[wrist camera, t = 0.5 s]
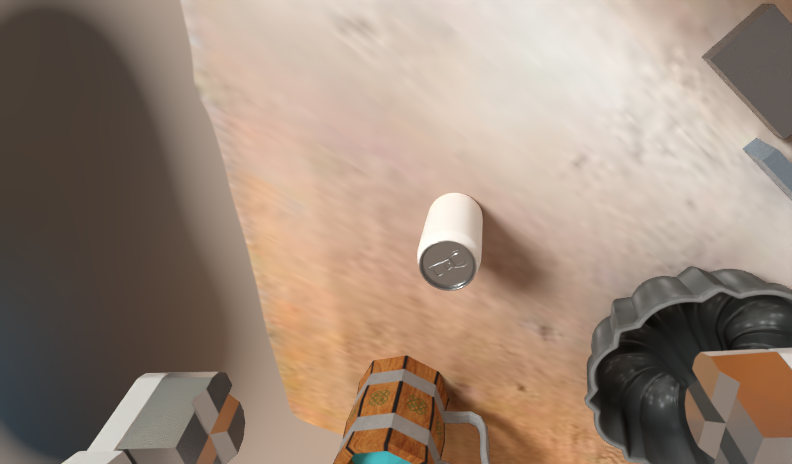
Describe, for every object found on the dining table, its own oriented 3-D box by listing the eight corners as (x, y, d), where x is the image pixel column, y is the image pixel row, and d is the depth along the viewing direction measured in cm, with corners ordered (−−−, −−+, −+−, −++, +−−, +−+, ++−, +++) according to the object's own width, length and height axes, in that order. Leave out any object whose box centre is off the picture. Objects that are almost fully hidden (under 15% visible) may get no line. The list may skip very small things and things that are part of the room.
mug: (357, 415, 75) (329, 505, 62) (360, 347, 69) (329, 431, 56) (484, 439, 73) (483, 538, 59) (498, 371, 67) (500, 464, 53)
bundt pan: (761, 199, 51) (818, 242, 42) (844, 373, 58) (908, 441, 49) (534, 302, 61) (542, 354, 52) (628, 438, 68) (648, 505, 59)
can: (493, 224, 57) (494, 276, 47) (448, 249, 60) (439, 304, 49) (462, 181, 56) (456, 225, 45) (417, 209, 58) (401, 257, 47)
